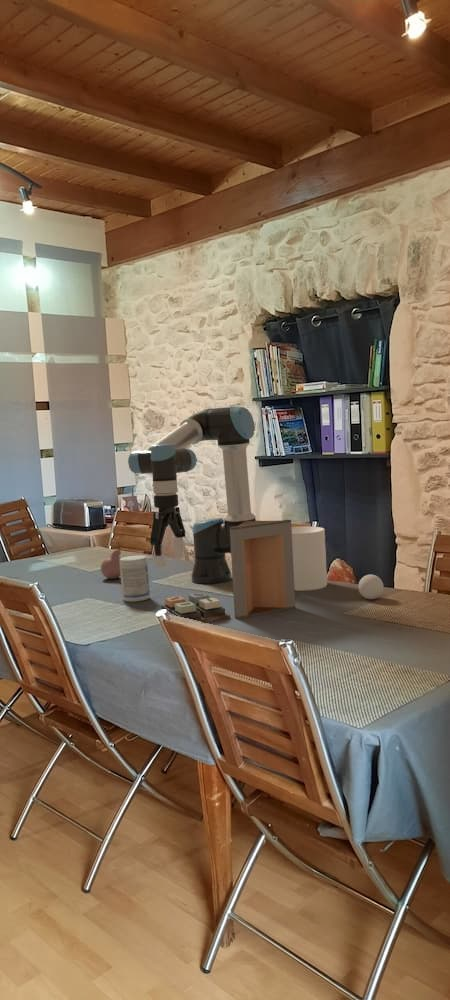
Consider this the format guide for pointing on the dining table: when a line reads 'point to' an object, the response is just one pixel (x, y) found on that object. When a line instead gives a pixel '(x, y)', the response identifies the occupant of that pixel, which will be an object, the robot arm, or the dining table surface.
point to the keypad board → (201, 613)
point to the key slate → (197, 597)
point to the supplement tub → (134, 578)
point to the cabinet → (262, 567)
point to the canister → (309, 558)
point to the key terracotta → (174, 601)
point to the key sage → (185, 607)
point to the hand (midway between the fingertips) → (169, 561)
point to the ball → (370, 586)
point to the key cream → (209, 603)
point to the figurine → (111, 565)
